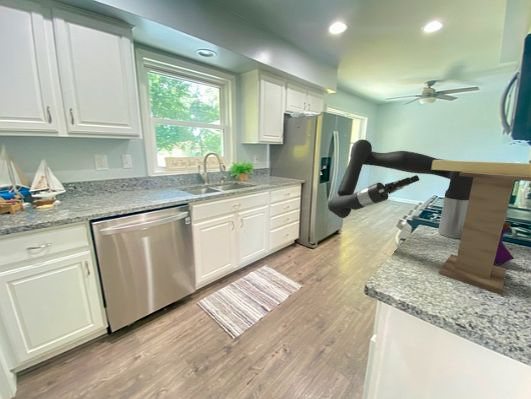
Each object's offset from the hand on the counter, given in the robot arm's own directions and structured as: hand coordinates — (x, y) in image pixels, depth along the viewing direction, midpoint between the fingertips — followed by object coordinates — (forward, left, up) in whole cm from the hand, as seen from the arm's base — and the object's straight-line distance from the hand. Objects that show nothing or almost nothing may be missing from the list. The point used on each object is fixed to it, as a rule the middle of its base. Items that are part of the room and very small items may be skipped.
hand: (414, 178), depth 81 cm
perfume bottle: (-16, +23, -29) cm, 40 cm away
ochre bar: (0, +16, +4) cm, 16 cm away
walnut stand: (0, +20, -28) cm, 35 cm away
